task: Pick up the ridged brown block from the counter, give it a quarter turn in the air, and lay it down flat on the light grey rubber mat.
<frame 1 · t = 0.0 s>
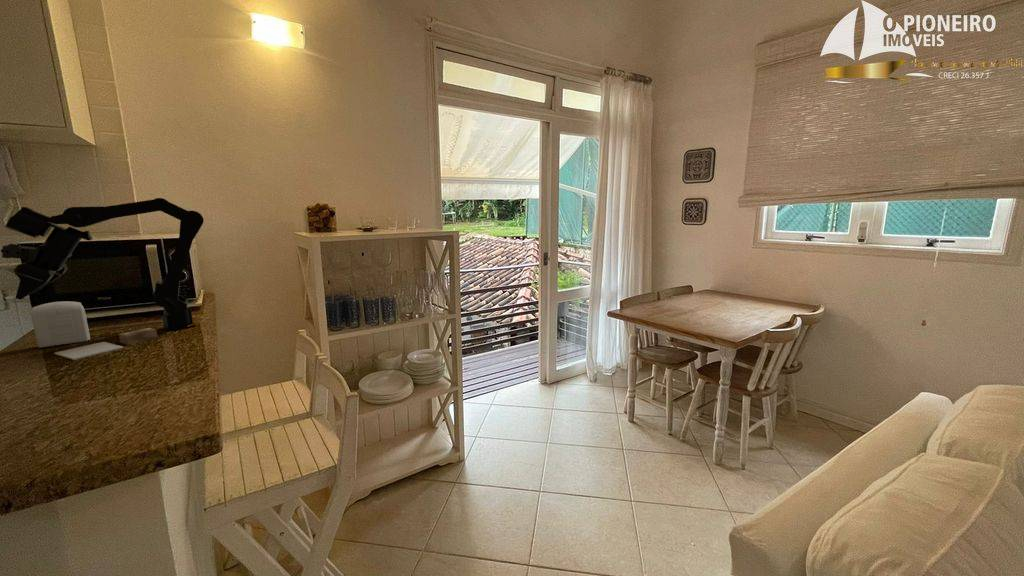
hand: (24, 295, 109), 15 cm above the counter, tool tilted 35°, fingers open, 9 cm apart
ridged brown block: (139, 341, 118), on the counter
photo printer: (65, 344, 115), on the counter
mat: (89, 351, 108), on the counter
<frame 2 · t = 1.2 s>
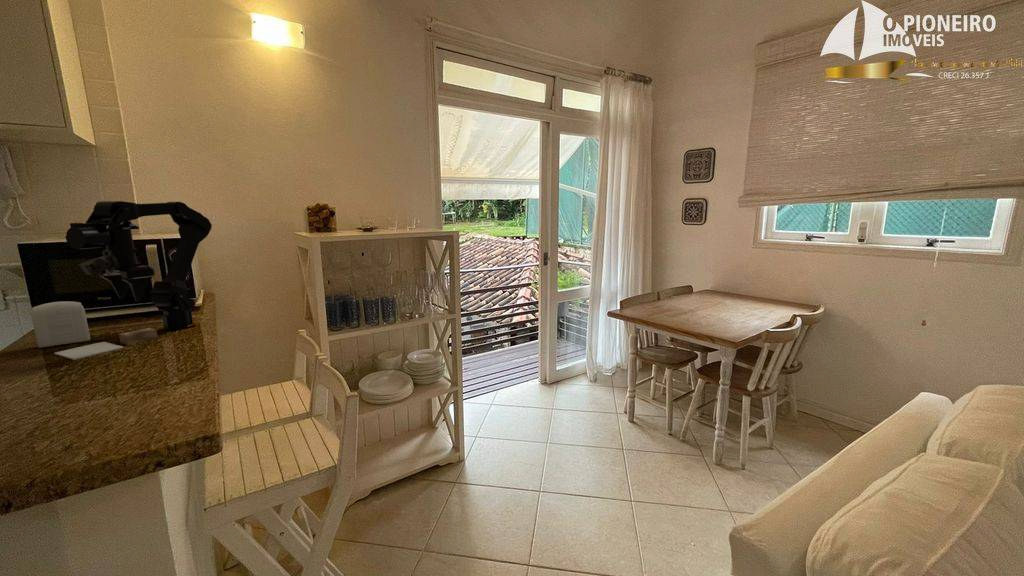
hand: (130, 299, 115), 12 cm above the counter, tool pointing down, fingers open, 9 cm apart
nothing on the counter moved.
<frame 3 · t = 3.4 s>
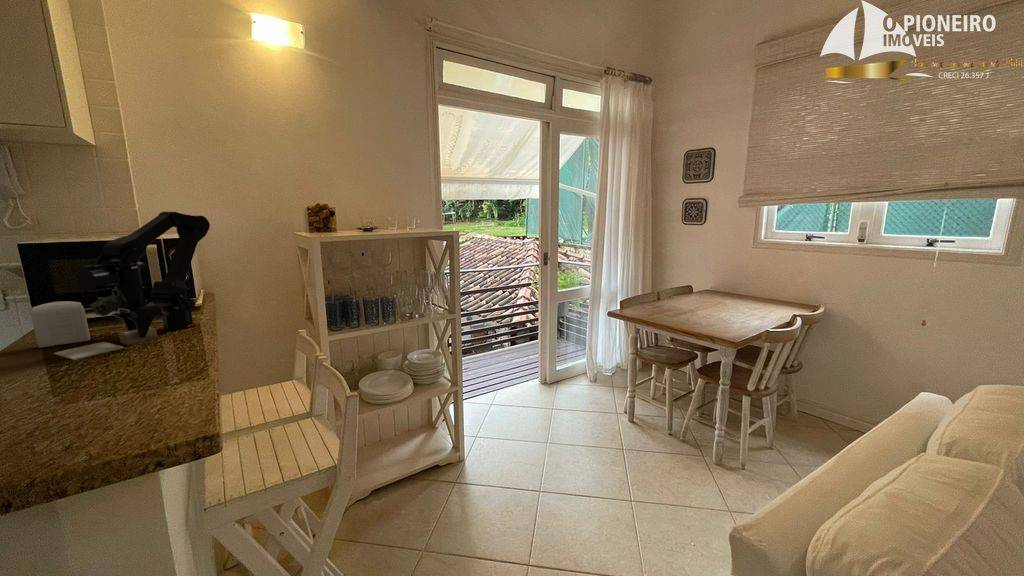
hand: (138, 336, 117), 1 cm above the counter, tool pointing down, fingers closed on ridged brown block, 4 cm apart
ridged brown block: (139, 340, 118), on the counter, touching gripper
everything else where it was.
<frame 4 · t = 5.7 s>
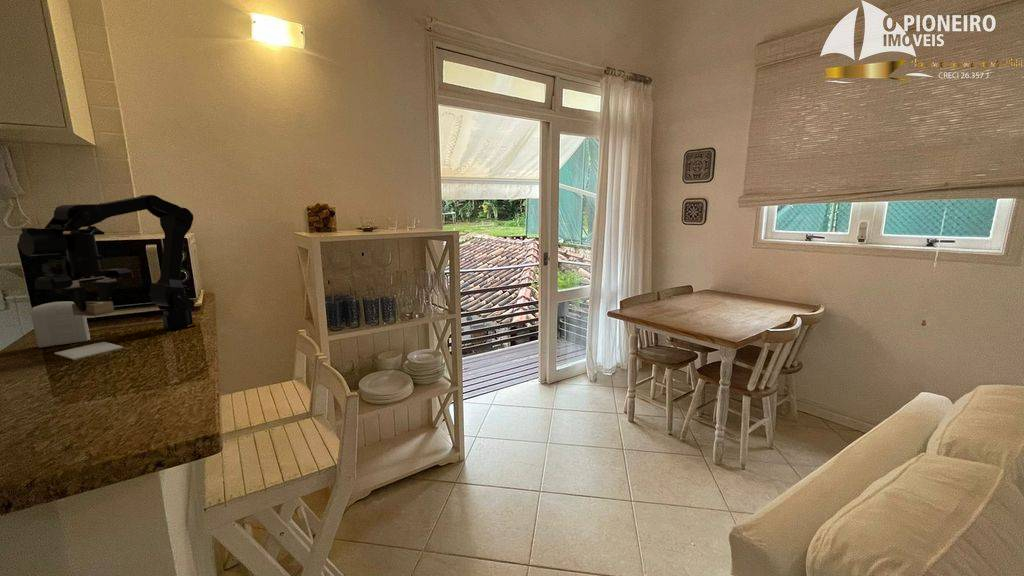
hand: (93, 309, 108), 11 cm above the counter, tool pointing down, fingers closed on ridged brown block, 4 cm apart
ridged brown block: (94, 313, 109), point 10 cm above the counter, touching gripper
everything else where it was.
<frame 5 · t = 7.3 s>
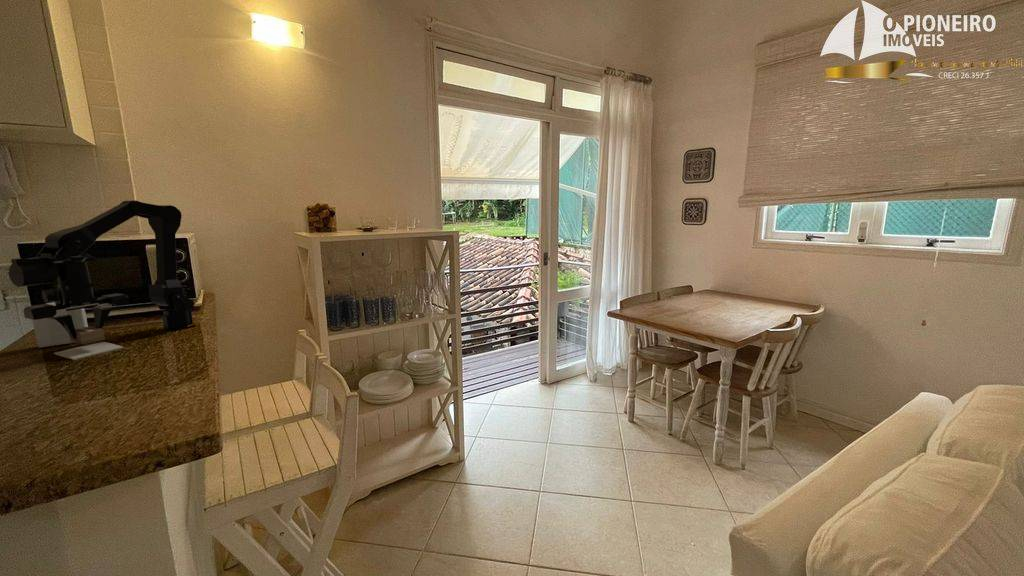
hand: (86, 336, 108), 4 cm above the counter, tool pointing down, fingers closed on ridged brown block, 4 cm apart
ridged brown block: (87, 340, 108), point 3 cm above the counter, touching gripper
everything else where it was.
when the fingers open (3 cm above the counter, at t = 8.3 s): ridged brown block drops 2 cm, resting on mat.
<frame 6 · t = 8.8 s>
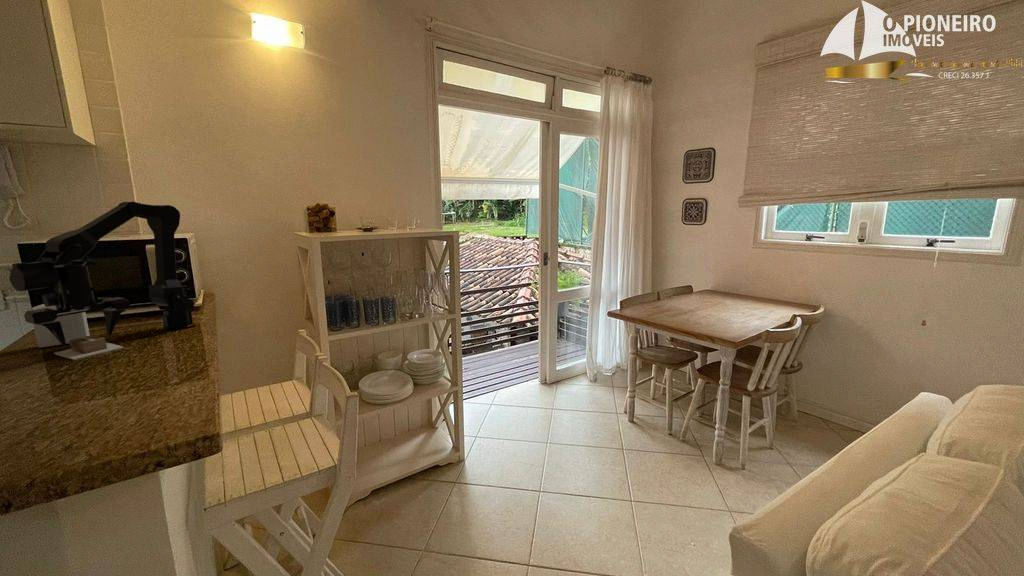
hand: (87, 339, 108), 3 cm above the counter, tool pointing down, fingers open, 9 cm apart
ridged brown block: (89, 349, 108), resting on mat
everything else where it was.
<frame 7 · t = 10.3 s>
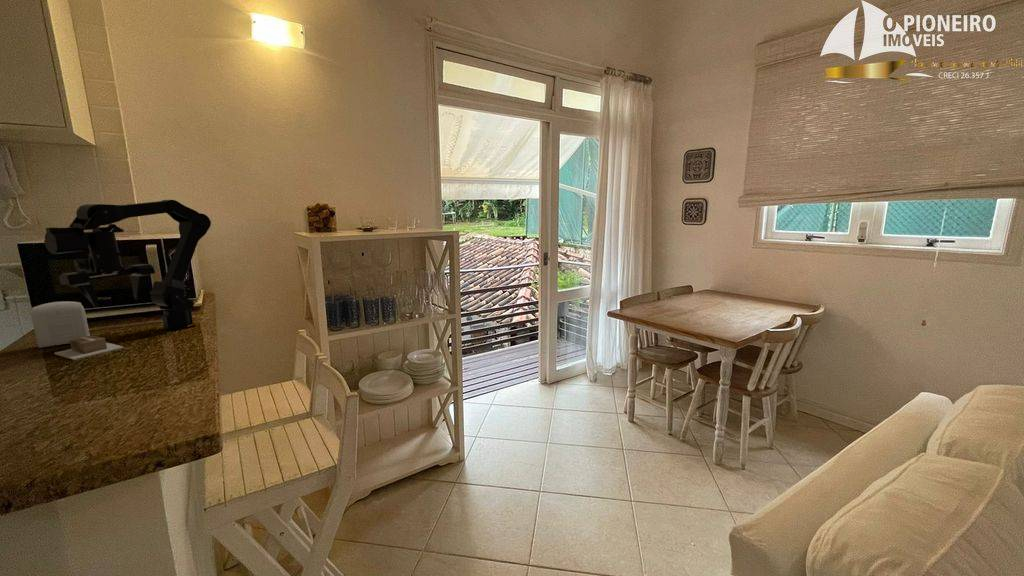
hand: (116, 302, 115), 12 cm above the counter, tool pointing down, fingers open, 9 cm apart
nothing on the counter moved.
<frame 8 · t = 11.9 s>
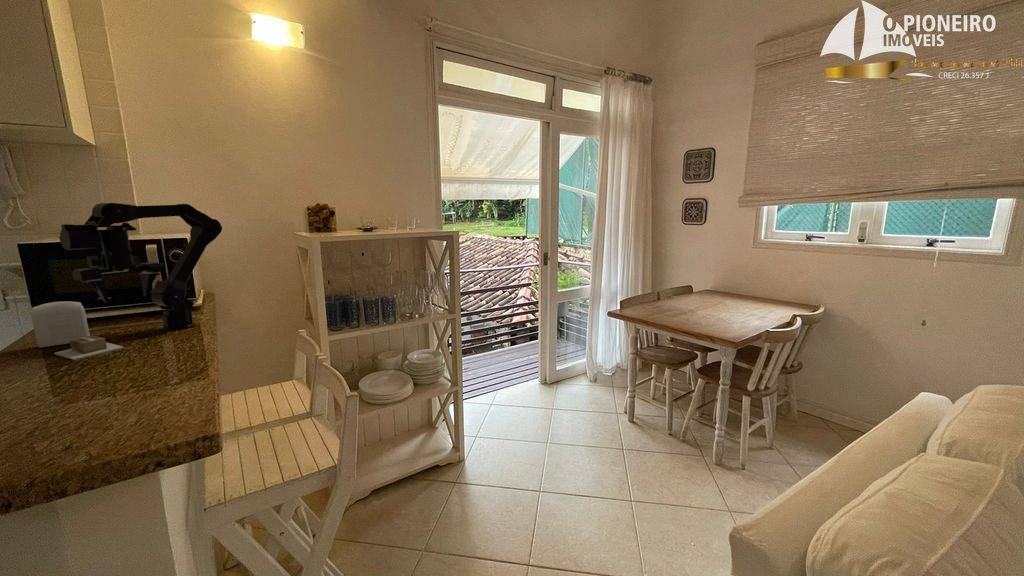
hand: (126, 299, 117), 12 cm above the counter, tool pointing down, fingers open, 9 cm apart
nothing on the counter moved.
at the end: ridged brown block inside the target area on the mat (0.0 cm from its centre), point 0.4 cm above the mat's base; ridged brown block touching mat; ridged brown block tilted 0° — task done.
